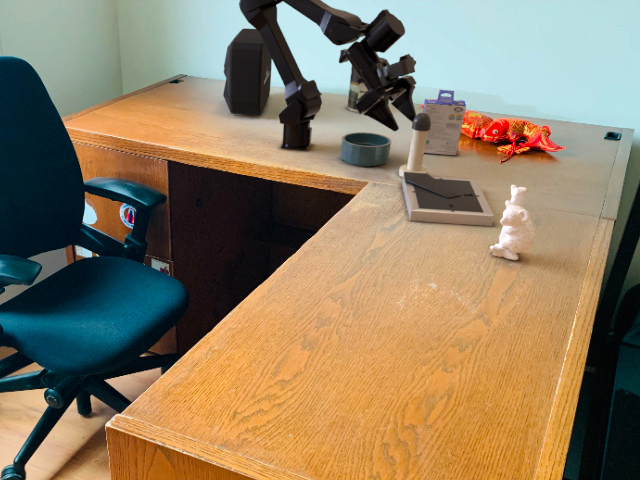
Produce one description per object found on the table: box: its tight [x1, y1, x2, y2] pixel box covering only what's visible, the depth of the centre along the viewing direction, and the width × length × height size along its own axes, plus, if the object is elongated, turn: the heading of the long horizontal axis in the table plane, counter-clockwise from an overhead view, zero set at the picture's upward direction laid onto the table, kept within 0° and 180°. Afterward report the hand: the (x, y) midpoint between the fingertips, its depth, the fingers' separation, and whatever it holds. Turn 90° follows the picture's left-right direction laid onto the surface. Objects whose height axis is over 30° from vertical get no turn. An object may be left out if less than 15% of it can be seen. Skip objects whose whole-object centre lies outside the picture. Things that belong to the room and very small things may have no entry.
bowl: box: [339, 131, 392, 167], centre depth 160 cm, size 12×12×5 cm
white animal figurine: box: [489, 184, 536, 261], centre depth 115 cm, size 8×7×12 cm
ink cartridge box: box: [422, 89, 467, 156], centre depth 164 cm, size 10×6×14 cm, turn 79°
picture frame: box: [401, 172, 495, 227], centre depth 138 cm, size 16×3×21 cm
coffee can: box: [346, 56, 388, 114], centre depth 198 cm, size 10×10×14 cm
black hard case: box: [222, 28, 273, 116], centre depth 197 cm, size 30×12×20 cm, turn 172°
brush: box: [398, 112, 431, 178], centre depth 149 cm, size 6×6×14 cm
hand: (406, 125), depth 149 cm, fingers open, 9 cm apart
